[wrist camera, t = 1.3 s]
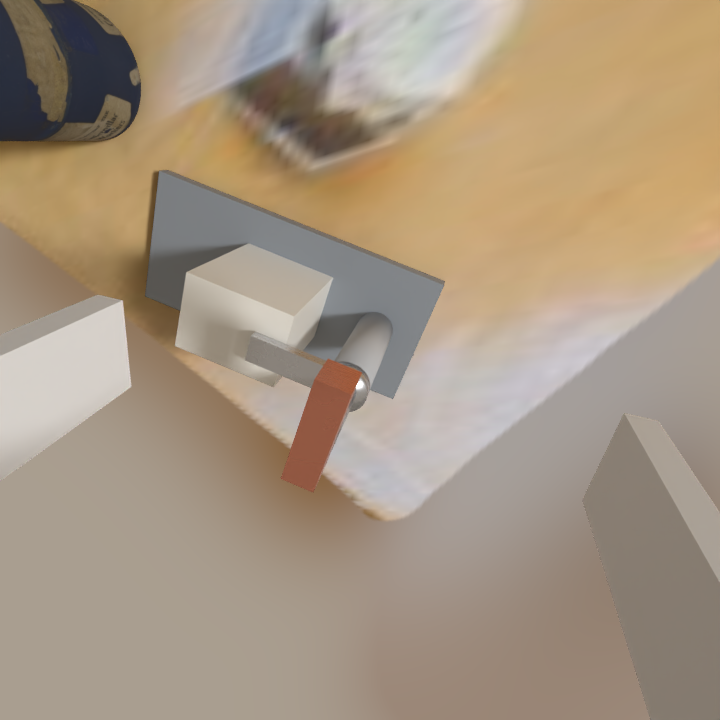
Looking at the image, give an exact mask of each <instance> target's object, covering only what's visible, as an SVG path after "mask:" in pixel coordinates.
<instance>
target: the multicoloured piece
mask: <svg viewBox="0 0 720 720" xmlns="http://www.w3.org/2000/svg"><path fill="white" fill-rule="evenodd" d="M245 361H248V362H250V363H252V364H255V365H257V366H259V367H262V368H264V369H267V370H269V371H271V372H274V373H276V374H279V375H281V376H283V377H286V378H288V379H291V380H293V381H295V382H298V383H300V384H303V385H305V386H307V387H310V388H311V391H310V394H309V397H308V400H307V403H306V406H305V409H304V412H303V414H302V417H301V420H300V423H299V426H298V429H297V432H296V435H295V438H294V441H293V444H292V447H291V450H290V453H289V456H288V459H287V462H286V465H285V468H284V471H283V473H282V476H281V479H283V480H285V481H287V482H290V483H292V484H294V485H297V486H299V487H301V488H304V489H306V490H308V491H311V492H314V490H315V488H316V485H317V483H318V481H319V479H320V476H321V474H322V472H323V470H324V467H325V465H326V463H327V460H328V458H329V455H330V453H331V451H332V449H333V446H334V444H335V442H336V440H337V437H338V435H339V433H340V431H341V429H342V426H343V424H344V422H345V420H346V417H347V415H348V413H349V412H352V411H355V410H357V409H359V408H360V407H361V406H362V405H363V404H364V403H365V401H366V398H367V396H368V393H369V390H370V380H369V377H368V375H367V374H366V372H365V371H364V370H363V369H362V368H361V367H359V366H357V365H355V364H353V363H348V362H342V363H338V362H335V361H333V360H331V359H327V361H326V360H323V359H321V358H318V357H316V356H314V355H311V354H309V353H306V352H304V351H301V350H299V349H297V348H294V347H292V346H289V345H287V344H285V343H282V342H280V341H277V340H275V339H272V338H270V337H268V336H265V335H263V334H260V333H258V332H254V333H253V334H252V335H251V337H250V341H249V345H248V349H247V353H246V357H245Z"/></svg>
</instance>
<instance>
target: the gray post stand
mask: <svg viewBox="0 0 720 720" xmlns="http://www.w3.org/2000/svg"><path fill="white" fill-rule="evenodd" d="M248 243H249V244H252V245H254V246H257V247H259V248H262V249H264V250H267V251H269V252H272V253H274V254H276V255H279V256H281V257H284V258H286V259H289V260H291V261H294V262H296V263H299V264H301V265H304V266H306V267H309V268H311V269H313V270H316V271H318V272H321V273H323V274H326V275H328V276H331V277H333V280H332V283H331V286H330V289H329V292H328V295H327V299H326V302H325V305H324V308H323V311H322V314H321V317H320V320H319V323H318V327H317V330H316V333H315V336H314V337H313V339H312V340H311V341H310V342H309V344H308V345H307V346H306V347H305V349H304V350H303V351H304V352H306V353H309V354H311V355H314V356H316V357H318V358H321V359H323V360H326V361H327V359H331V360H333V361H335V362H338V363H342V362H348V363H353V364H355V365H357V366H359V367H361V368H362V369H363V370H364V371H365V372H366V374H367V375H368V377H369V380H370V390H372V391H375V392H377V393H380V394H382V395H384V396H387V397H389V398H392V399H393V398H394V396H395V393H396V391H397V389H398V387H399V384H400V382H401V380H402V378H403V376H404V373H405V371H406V369H407V367H408V364H409V362H410V360H411V358H412V356H413V353H414V351H415V349H416V347H417V344H418V342H419V340H420V338H421V336H422V333H423V331H424V329H425V327H426V324H427V322H428V320H429V318H430V316H431V313H432V311H433V309H434V307H435V304H436V302H437V300H438V298H439V296H440V293H441V291H442V289H443V287H444V283H445V281H443V280H440V279H438V278H435V277H433V276H430V275H428V274H425V273H423V272H420V271H418V270H415V269H413V268H410V267H408V266H405V265H403V264H400V263H398V262H395V261H393V260H390V259H388V258H385V257H383V256H380V255H378V254H375V253H373V252H370V251H368V250H365V249H363V248H361V247H358V246H356V245H353V244H351V243H348V242H346V241H343V240H341V239H338V238H336V237H333V236H331V235H328V234H326V233H323V232H321V231H318V230H316V229H313V228H311V227H308V226H306V225H303V224H301V223H298V222H296V221H293V220H291V219H288V218H286V217H283V216H281V215H278V214H276V213H273V212H271V211H268V210H266V209H263V208H261V207H258V206H256V205H253V204H251V203H248V202H246V201H243V200H241V199H238V198H236V197H234V196H231V195H229V194H226V193H224V192H221V191H219V190H216V189H214V188H211V187H209V186H206V185H204V184H201V183H199V182H196V181H194V180H191V179H189V178H186V177H184V176H181V175H179V174H176V173H174V172H171V171H169V170H162V171H159V178H158V187H157V195H156V204H155V213H154V222H153V231H152V240H151V248H150V257H149V266H148V275H147V284H146V293H145V296H146V297H148V298H151V299H153V300H155V301H158V302H160V303H163V304H165V305H167V306H170V307H172V308H175V309H177V310H179V311H180V310H181V303H182V297H183V291H184V284H185V278H186V272H188V271H190V270H192V269H194V268H196V267H199V266H201V265H203V264H205V263H207V262H209V261H212V260H214V259H216V258H218V257H220V256H222V255H224V254H227V253H229V252H231V251H233V250H235V249H237V248H240V247H242V246H244V245H246V244H248ZM370 390H369V391H370Z"/></svg>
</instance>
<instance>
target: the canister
mask: <svg viewBox="0 0 720 720" xmlns="http://www.w3.org/2000/svg"><path fill="white" fill-rule="evenodd" d="M140 97H141V82H140V75H139V70H138V66H137V63H136V60H135V57H134V55H133V53H132V50H131V48H130V46H129V45H128V43H127V41H126V40H125V38H124V36H123V35H122V34H121V32H120V31H119V30H118V29H117V28H116V27H115V26H114V24H113V23H112V22H111V21H110V20H109V19H107V18H106V17H105V16H104V15H102V14H101V13H100V12H98V11H96V10H95V9H93V8H91V7H89V6H87V5H84V4H82V3H79V2H77V1H74V0H0V141H101V140H108V139H111V138H114V137H117V136H118V135H120V134H122V133H123V132H124V131H125V130H126V129H127V128H128V127H129V126H130V125H131V124H132V122H133V121H134V119H135V117H136V114H137V112H138V108H139V104H140Z"/></svg>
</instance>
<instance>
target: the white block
mask: <svg viewBox="0 0 720 720" xmlns="http://www.w3.org/2000/svg"><path fill="white" fill-rule="evenodd" d="M332 280H333V277H331V276H328V275H326V274H323V273H321V272H318V271H316V270H313V269H311V268H309V267H306V266H304V265H301V264H299V263H296V262H294V261H291V260H289V259H286V258H284V257H281V256H279V255H276V254H274V253H272V252H269V251H267V250H264V249H262V248H259V247H257V246H254V245H252V244H249V243H248V244H246V245H244V246H242V247H240V248H237V249H235V250H233V251H231V252H229V253H227V254H224V255H222V256H220V257H218V258H216V259H214V260H212V261H209V262H207V263H205V264H203V265H201V266H199V267H196V268H194V269H192V270H190V271H188V272H186V278H185V284H184V291H183V297H182V303H181V310H180V316H179V323H178V329H177V335H176V342H175V346H176V347H179V348H181V349H183V350H186V351H188V352H191V353H193V354H195V355H198V356H200V357H202V358H205V359H207V360H210V361H212V362H214V363H217V364H219V365H222V366H224V367H226V368H229V369H231V370H234V371H236V372H238V373H241V374H243V375H245V376H248V377H250V378H253V379H255V380H257V381H260V382H262V383H265V384H267V385H269V386H272V387H274V386H275V385H276V384H277V382H278V381H279V380H280V379H281V377H282V376H281V375H279V374H276V373H274V372H271V371H269V370H267V369H264V368H262V367H259V366H257V365H255V364H252V363H250V362H248V361H245V357H246V353H247V349H248V345H249V341H250V337H251V335H252V334H253V333H254V332H258V333H260V334H263V335H265V336H268V337H270V338H272V339H275V340H277V341H280V342H282V343H285V344H287V345H289V346H292V347H294V348H297V349H299V350H301V351H303V350H304V349H305V347H306V346H307V345H308V344H309V342H310V341H311V340H312V339H313V337H314V336H315V333H316V330H317V327H318V323H319V320H320V317H321V314H322V311H323V308H324V305H325V302H326V299H327V295H328V292H329V289H330V286H331V283H332Z"/></svg>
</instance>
